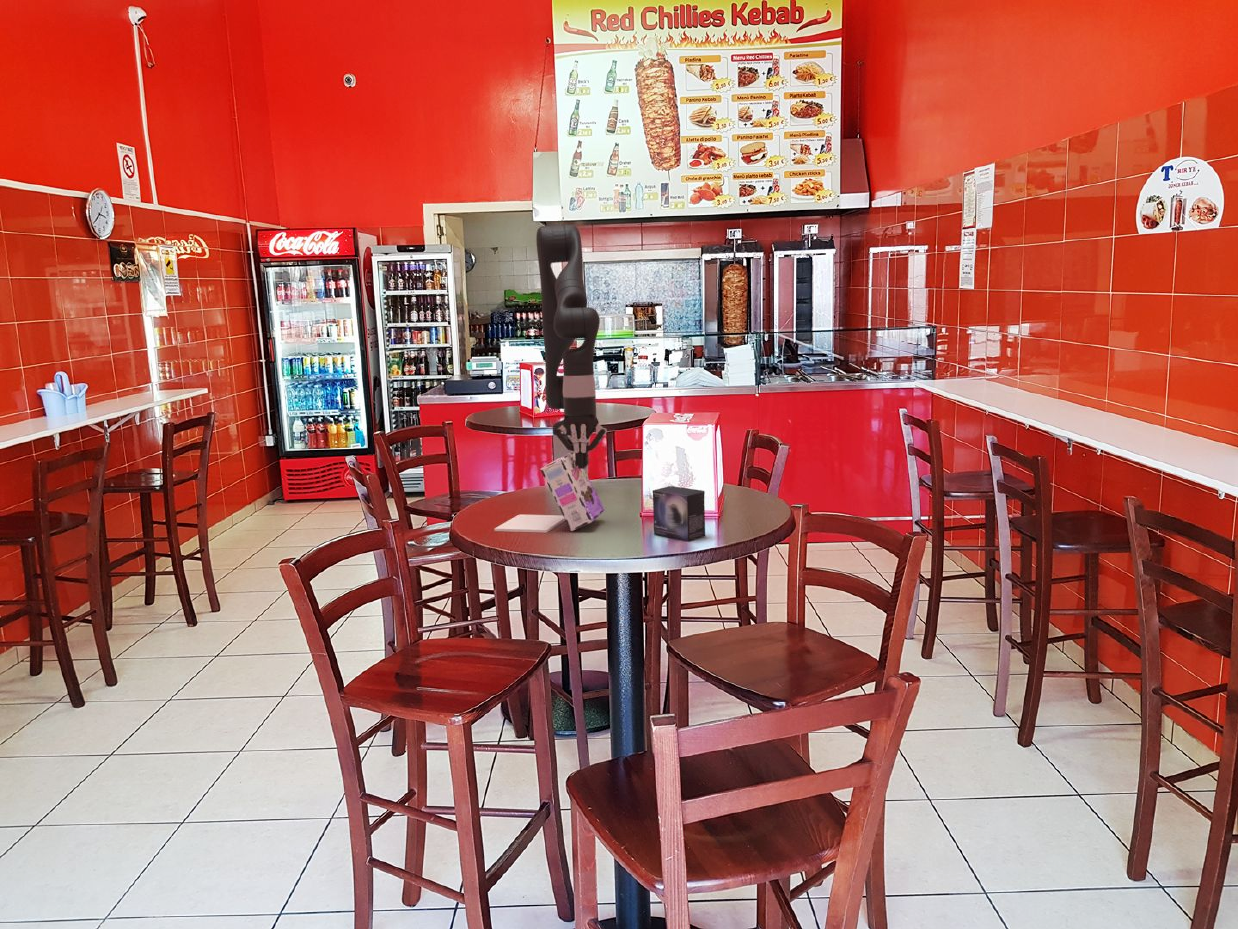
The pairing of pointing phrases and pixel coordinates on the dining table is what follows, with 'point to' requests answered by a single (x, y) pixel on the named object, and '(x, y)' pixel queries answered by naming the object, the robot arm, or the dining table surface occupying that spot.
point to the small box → (679, 513)
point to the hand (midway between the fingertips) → (582, 468)
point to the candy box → (572, 491)
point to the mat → (531, 523)
